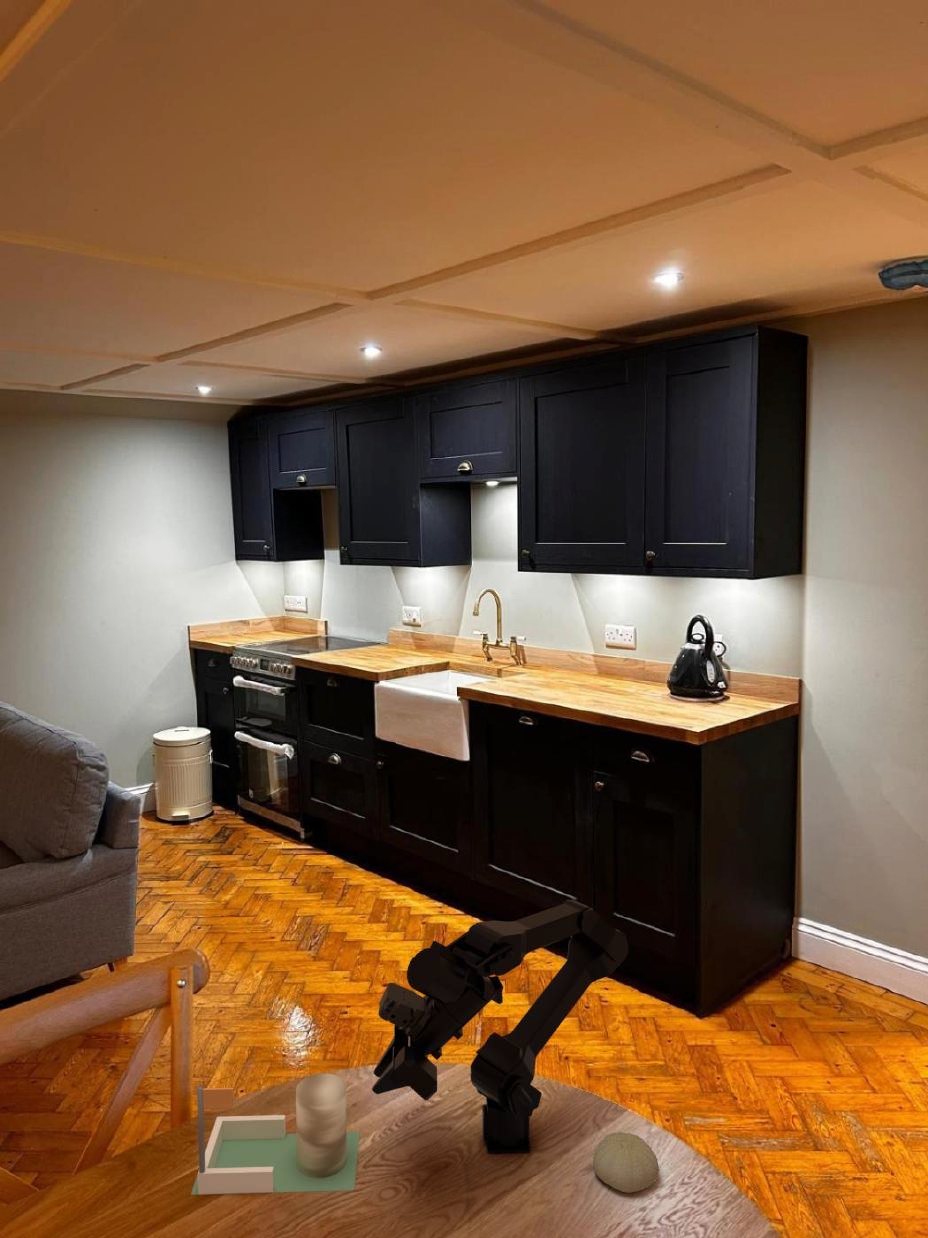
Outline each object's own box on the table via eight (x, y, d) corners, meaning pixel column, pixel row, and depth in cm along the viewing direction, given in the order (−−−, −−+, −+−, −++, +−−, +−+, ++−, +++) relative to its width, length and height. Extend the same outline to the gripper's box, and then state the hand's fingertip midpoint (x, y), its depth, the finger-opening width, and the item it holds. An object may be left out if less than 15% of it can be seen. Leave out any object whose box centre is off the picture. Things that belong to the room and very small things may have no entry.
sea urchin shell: (654, 1138, 136) (659, 1127, 130) (657, 1201, 131) (663, 1193, 125) (591, 1134, 137) (593, 1123, 130) (592, 1196, 132) (594, 1188, 126)
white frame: (285, 1134, 137) (284, 1038, 136) (272, 1192, 126) (270, 1088, 124) (217, 1135, 137) (215, 1040, 135) (198, 1194, 125) (195, 1090, 123)
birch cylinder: (348, 1143, 135) (347, 1073, 134) (344, 1177, 128) (343, 1103, 127) (300, 1145, 135) (299, 1074, 134) (293, 1179, 128) (292, 1104, 127)
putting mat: (359, 1138, 138) (359, 1132, 138) (354, 1197, 126) (354, 1190, 126) (210, 1142, 137) (210, 1136, 137) (190, 1201, 125) (190, 1194, 125)
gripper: (413, 939, 139) (339, 1011, 139) (412, 1004, 120) (327, 1086, 121) (465, 988, 140) (392, 1059, 141) (472, 1060, 121) (388, 1141, 122)
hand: (374, 1083), depth 131 cm, fingers open, 4 cm apart
